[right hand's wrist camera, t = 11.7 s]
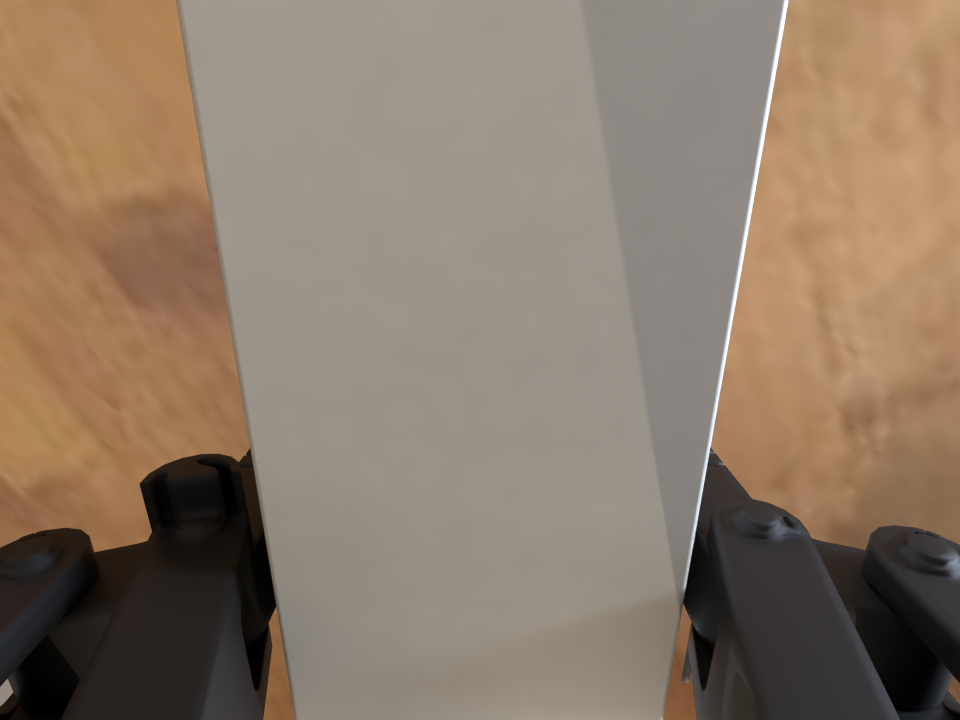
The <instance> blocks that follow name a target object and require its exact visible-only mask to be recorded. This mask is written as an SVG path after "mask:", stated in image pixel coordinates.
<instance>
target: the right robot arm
mask: <svg viewBox="0 0 960 720" xmlns="http://www.w3.org/2000/svg"><path fill="white" fill-rule="evenodd" d="M140 487H141V491H142V495H143V499H144V502H145V506H146V510H147V514H148V518H149V521H150V525H151V529H152V533H151V535H150V537H149V539H148V541H146V542H142V543H139V544H134V545H129V546H124V547H119V548H114V549H109V550H104V551H99V552H94V550H93V546H92V543H91V540H90V537H89V536H88V535H87V534H86V533H85V532H83V531H82V530H79V529H71V528H61V529H53V530H45V531H40V532H36V534H34V533H32V534H29V535H27V536H24V537H21V538H20V539H18V540H16V541H14V542H12V543H10V544H8V545H5V546H3V547H1V548H0V686H1V685H2V684H3V683H4V682H5V681H6V680H7V678H8V680H9V683H10V685H11V687H12V690H13V694H12V695H11V696H10V697H9V698H8V699H7V701H6V702H5V703H4V704H3V705H2V706H0V720H263V716H264V708H265V700H266V692H267V684H268V676H269V668H270V660H271V652H272V641H271V634H270V629H269V621H270V619H271V616H272V614H273V612H274V610H275V608H276V600H275V594H274V588H273V582H272V576H271V570H270V563H269V557H268V551H267V545H266V539H265V533H264V527H263V521H262V515H261V509H260V503H259V497H258V491H257V485H256V479H255V473H254V467H253V461H252V455H251V449H249V451H248V452H247V455H246V456H244V457H243V458H242V459H241V460H240V462H238V461H236V460H235V459H234V458H232V457H231V456H226V455H221V454H200V455H195V456H190V457H185V458H181V459H179V460H176V461H173V462H170V463H168V464H165V465H163V466H161V467H160V468H158V469H156V470H155V471H153V472H151V473H150V474H148V475H147V476H146V478H145V479H144V480H143V481H142V482H141V483H140ZM683 604H684V606H685V608H686V610H687V612H688V614H689V617H690V619H691V621H692V623H691V629H690V634H689V640H688V645H687V651H686V656H685V661H684V667H683V673H682V681H684V682H688V683H689V679H690V673H691V675H692V683H693V691H694V699H695V707H696V715H697V720H960V704H959V703H958V702H957V701H956V700H955V699H954V698H953V697H952V695H951V694H950V693H949V692H948V691H947V688H948V686H949V684H950V681H951V679H952V677H953V676H954V677H955V678H956V679H957V680H958V681H959V683H960V545H959V544H957V543H954V542H952V541H950V540H948V539H945V538H943V537H942V536H940V535H938V534H936V533H933V532H930V531H924V530H923V529H918V528H913V527H904V526H895V525H893V526H886V527H879V528H878V529H876V530H875V531H874V532H872V533H871V535H870V539H869V542H868V545H867V548H866V550H863V549H858V548H853V547H848V546H843V545H838V544H833V543H828V542H823V541H819V540H815V539H812V538H811V536H810V534H809V532H808V531H807V529H806V528H805V527H804V526H803V524H802V523H801V522H800V521H799V520H798V519H797V518H795V517H794V516H793V515H791V514H790V513H788V512H787V511H785V510H783V509H781V508H779V507H776V506H774V505H772V504H770V503H767V502H763V501H758V500H754V499H752V498H751V497H750V496H749V494H748V493H747V492H746V491H745V489H744V488H743V487H742V486H741V485H740V483H739V482H738V481H737V480H736V478H735V477H734V476H733V475H732V473H731V472H730V471H729V470H728V468H727V467H726V466H725V465H723V462H722V461H721V460H720V459H719V457H718V456H717V455H716V454H714V453H713V450H712V449H711V447H710V452H709V458H708V463H707V469H706V475H705V480H704V486H703V492H702V498H701V503H700V509H699V515H698V521H697V526H696V532H695V538H694V543H693V549H692V555H691V561H690V566H689V572H688V578H687V584H686V589H685V595H684V601H683Z"/></svg>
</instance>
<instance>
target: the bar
mask: <svg viewBox="0 0 960 720" xmlns="http://www.w3.org/2000/svg"><path fill="white" fill-rule="evenodd" d="M176 2H177V8H178V14H179V20H180V27H181V33H182V39H183V45H184V51H185V57H186V63H187V69H188V75H189V81H190V87H191V93H192V99H193V105H194V111H195V117H196V123H197V129H198V135H199V141H200V147H201V153H202V159H203V165H204V171H205V177H206V183H207V189H208V195H209V201H210V208H211V214H212V220H213V226H214V232H215V238H216V244H217V250H218V256H219V262H220V268H221V274H222V280H223V286H224V292H225V298H226V304H227V310H228V316H229V322H230V328H231V334H232V340H233V346H234V352H235V358H236V364H237V370H238V376H239V382H240V389H241V395H242V401H243V407H244V413H245V419H246V425H247V431H248V437H249V443H250V449H251V455H252V461H253V467H254V473H255V479H256V485H257V491H258V497H259V503H260V509H261V515H262V521H263V527H264V533H265V539H266V545H267V551H268V557H269V563H270V570H271V576H272V582H273V588H274V594H275V600H276V606H277V612H278V618H279V624H280V630H281V636H282V642H283V648H284V654H285V660H286V666H287V672H288V678H289V684H290V690H291V696H292V702H293V708H294V714H295V720H663V715H664V710H665V704H666V698H667V692H668V687H669V681H670V675H671V669H672V664H673V658H674V652H675V647H676V641H677V635H678V629H679V624H680V618H681V612H682V606H683V601H684V595H685V589H686V584H687V578H688V572H689V566H690V561H691V555H692V549H693V543H694V538H695V532H696V526H697V521H698V515H699V509H700V503H701V498H702V492H703V486H704V480H705V475H706V469H707V463H708V458H709V452H710V446H711V440H712V435H713V429H714V423H715V417H716V412H717V406H718V400H719V395H720V389H721V383H722V377H723V372H724V366H725V360H726V354H727V349H728V343H729V337H730V332H731V326H732V320H733V314H734V309H735V303H736V297H737V291H738V286H739V280H740V274H741V269H742V263H743V257H744V251H745V246H746V240H747V234H748V228H749V223H750V217H751V211H752V206H753V200H754V194H755V188H756V183H757V177H758V171H759V165H760V160H761V154H762V148H763V142H764V137H765V131H766V125H767V120H768V114H769V108H770V102H771V97H772V91H773V85H774V79H775V74H776V68H777V62H778V57H779V51H780V45H781V39H782V34H783V28H784V22H785V16H786V11H787V5H788V0H176Z"/></svg>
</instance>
